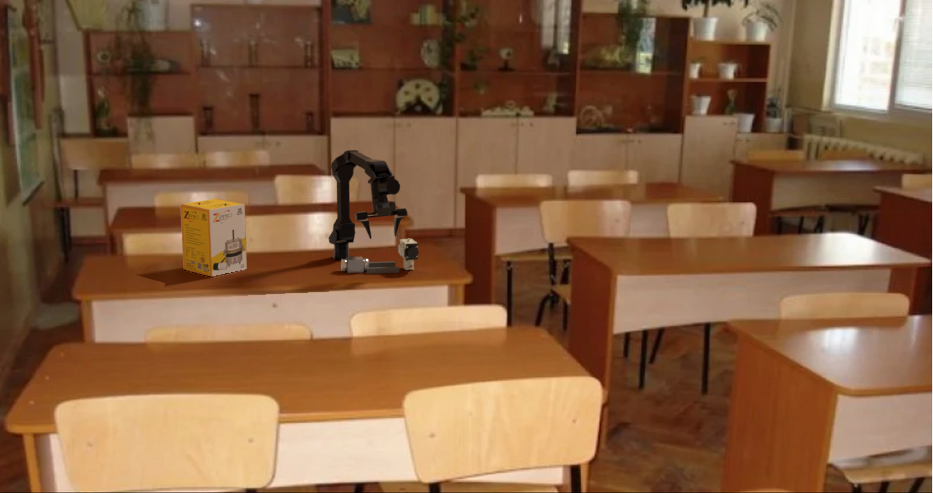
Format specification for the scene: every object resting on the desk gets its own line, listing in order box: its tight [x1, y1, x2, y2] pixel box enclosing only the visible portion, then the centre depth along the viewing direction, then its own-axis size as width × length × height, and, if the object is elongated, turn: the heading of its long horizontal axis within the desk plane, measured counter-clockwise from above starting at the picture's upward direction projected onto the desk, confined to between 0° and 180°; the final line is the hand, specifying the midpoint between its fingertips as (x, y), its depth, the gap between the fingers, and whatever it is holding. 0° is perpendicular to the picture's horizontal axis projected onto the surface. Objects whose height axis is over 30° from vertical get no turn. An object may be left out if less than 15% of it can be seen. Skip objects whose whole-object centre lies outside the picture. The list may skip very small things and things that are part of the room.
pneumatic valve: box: [397, 237, 420, 271], centre depth 341 cm, size 6×12×12 cm, turn 20°
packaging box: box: [179, 198, 248, 276], centre depth 331 cm, size 16×16×25 cm
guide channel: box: [366, 260, 400, 275], centre depth 339 cm, size 9×12×2 cm
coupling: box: [340, 256, 370, 274], centre depth 337 cm, size 5×10×5 cm, turn 103°
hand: (383, 237), depth 329 cm, fingers open, 9 cm apart
